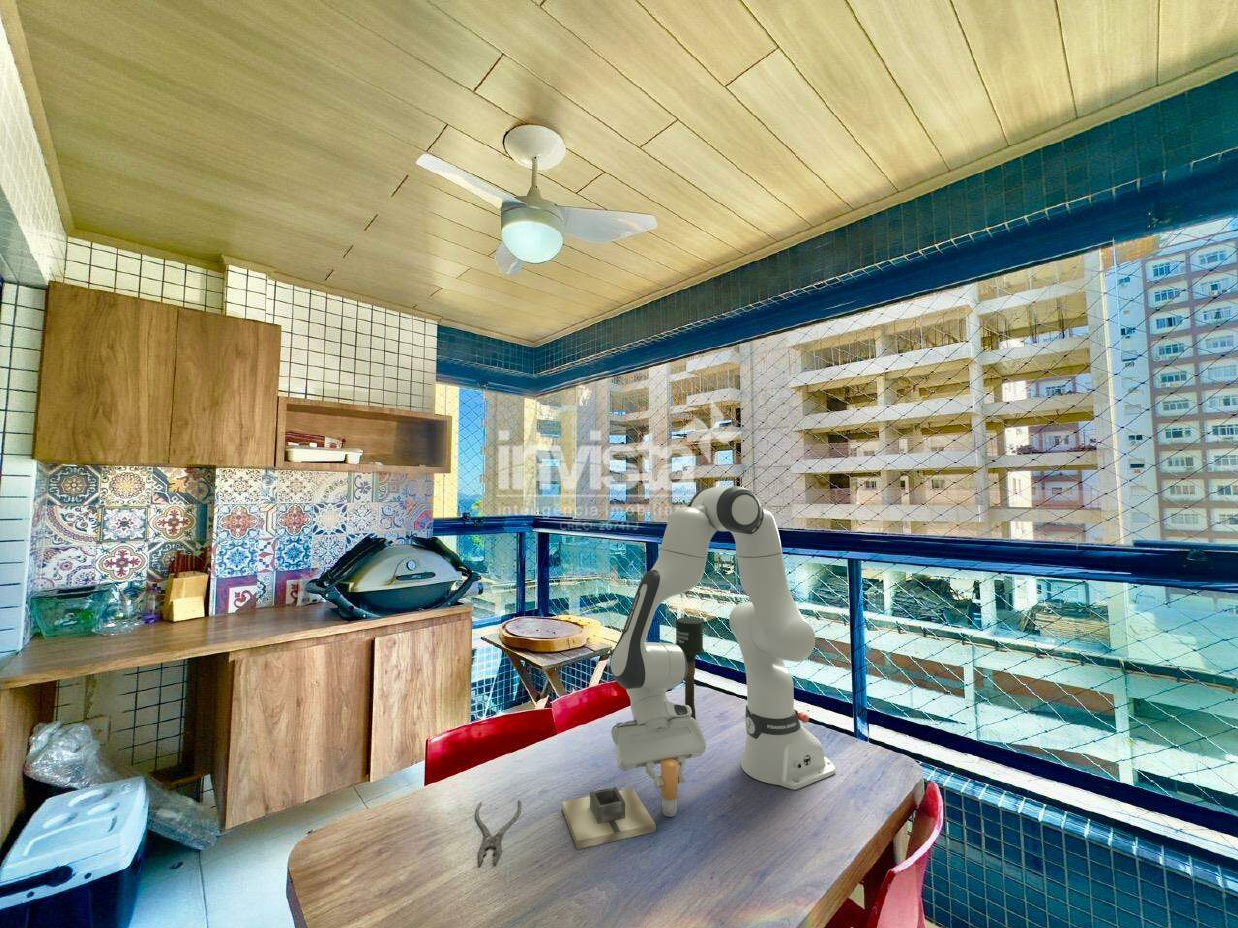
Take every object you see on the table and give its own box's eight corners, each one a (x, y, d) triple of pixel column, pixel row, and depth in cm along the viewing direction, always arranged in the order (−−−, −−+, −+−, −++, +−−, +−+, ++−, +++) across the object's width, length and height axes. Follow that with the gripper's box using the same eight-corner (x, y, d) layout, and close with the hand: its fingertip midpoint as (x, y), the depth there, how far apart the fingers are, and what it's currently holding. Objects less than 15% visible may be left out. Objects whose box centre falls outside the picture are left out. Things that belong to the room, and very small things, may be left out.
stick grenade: (673, 717, 152) (673, 616, 154) (702, 718, 152) (702, 616, 154) (676, 730, 144) (675, 623, 146) (706, 731, 144) (706, 623, 145)
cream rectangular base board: (632, 794, 113) (632, 773, 113) (655, 831, 101) (655, 807, 101) (562, 808, 108) (562, 786, 108) (577, 849, 96) (577, 824, 96)
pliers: (520, 794, 112) (533, 854, 93) (519, 798, 112) (532, 859, 93) (474, 802, 109) (478, 866, 90) (474, 806, 109) (478, 871, 90)
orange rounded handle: (673, 805, 109) (673, 757, 110) (681, 815, 106) (680, 765, 106) (658, 808, 108) (658, 760, 108) (665, 818, 104) (665, 768, 105)
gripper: (612, 717, 111) (627, 788, 101) (696, 705, 117) (718, 770, 108) (606, 729, 115) (620, 799, 105) (688, 717, 121) (708, 781, 112)
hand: (670, 784), depth 106 cm, fingers closed on orange rounded handle, 4 cm apart
